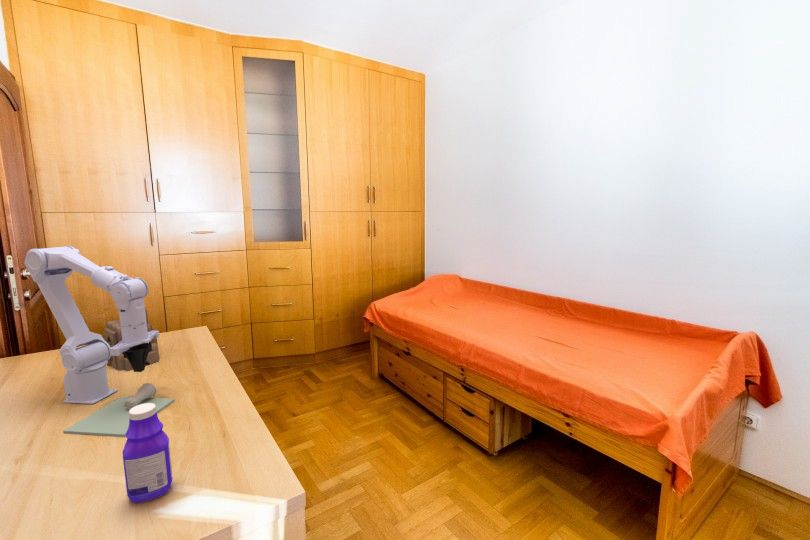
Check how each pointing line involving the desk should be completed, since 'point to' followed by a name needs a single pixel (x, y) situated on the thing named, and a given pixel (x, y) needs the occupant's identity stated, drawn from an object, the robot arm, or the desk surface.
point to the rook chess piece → (141, 395)
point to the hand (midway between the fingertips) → (139, 370)
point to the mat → (112, 418)
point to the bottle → (146, 455)
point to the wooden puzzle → (115, 336)
